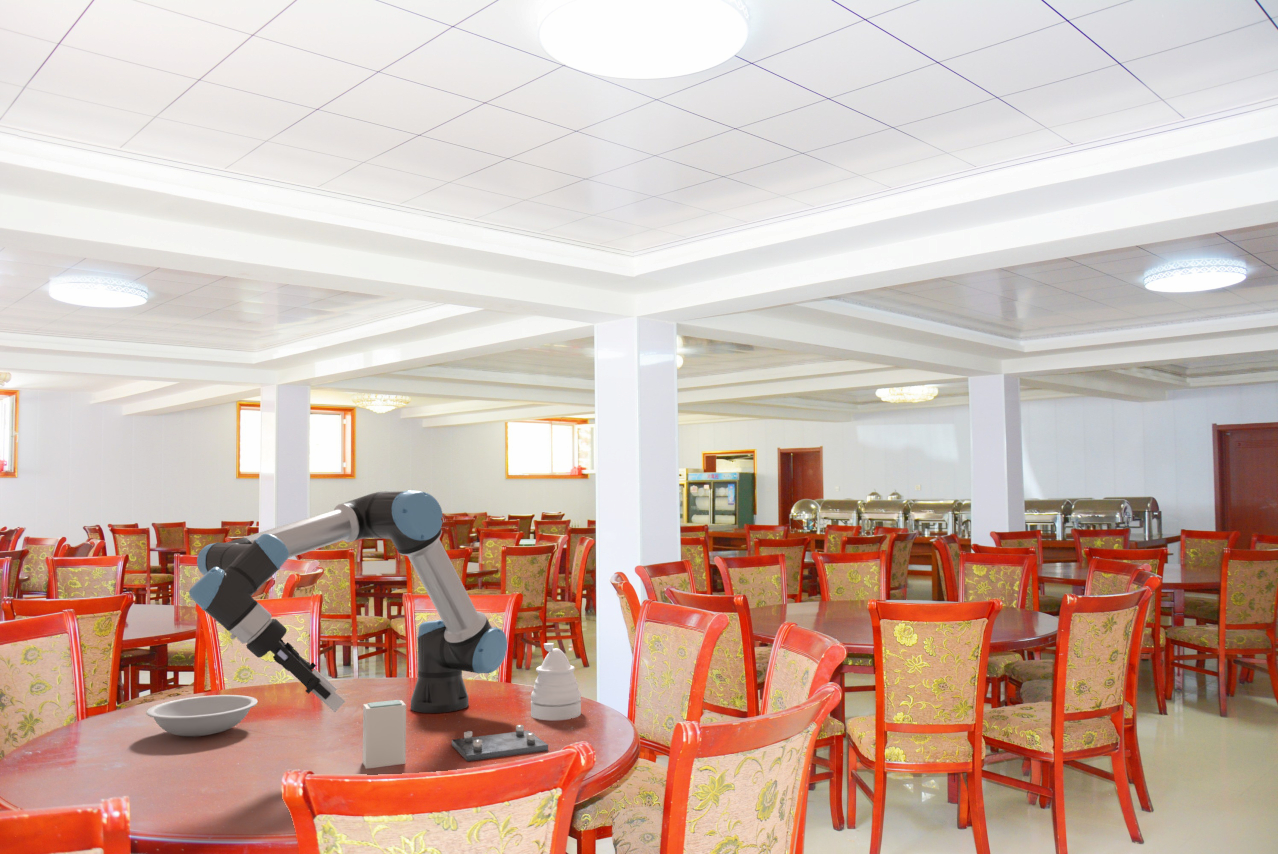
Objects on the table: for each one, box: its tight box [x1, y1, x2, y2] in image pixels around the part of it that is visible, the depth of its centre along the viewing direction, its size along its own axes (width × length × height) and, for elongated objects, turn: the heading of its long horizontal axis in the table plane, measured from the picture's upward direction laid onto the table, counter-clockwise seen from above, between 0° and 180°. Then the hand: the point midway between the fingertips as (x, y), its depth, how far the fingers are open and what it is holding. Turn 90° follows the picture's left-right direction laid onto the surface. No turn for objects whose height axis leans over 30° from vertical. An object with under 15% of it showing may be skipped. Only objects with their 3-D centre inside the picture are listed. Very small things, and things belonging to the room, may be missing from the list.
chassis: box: [451, 724, 549, 762], centre depth 197 cm, size 14×18×3 cm
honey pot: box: [530, 642, 582, 721], centre depth 229 cm, size 13×13×18 cm
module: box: [362, 699, 407, 770], centre depth 187 cm, size 5×8×12 cm, turn 115°
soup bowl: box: [145, 694, 258, 737], centre depth 213 cm, size 24×24×7 cm
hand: (336, 700), depth 183 cm, fingers open, 13 cm apart
